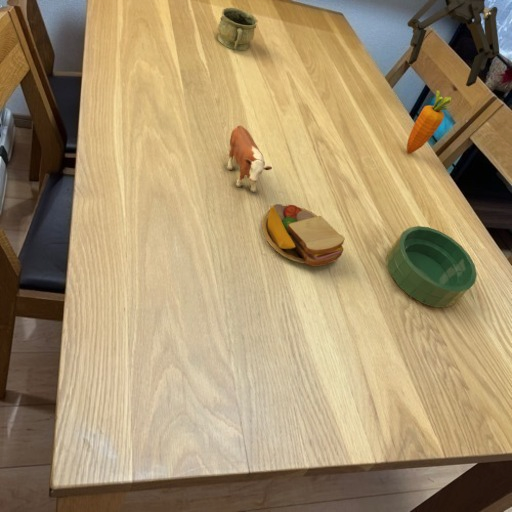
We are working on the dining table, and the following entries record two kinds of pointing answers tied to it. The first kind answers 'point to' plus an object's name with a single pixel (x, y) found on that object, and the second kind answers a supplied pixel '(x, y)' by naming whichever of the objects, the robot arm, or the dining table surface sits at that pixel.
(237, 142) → the bull figurine
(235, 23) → the vessel
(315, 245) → the toy sandwich meal
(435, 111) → the carrot
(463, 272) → the bowl
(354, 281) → the dining table surface
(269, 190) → the dining table surface
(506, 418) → the dining table surface
